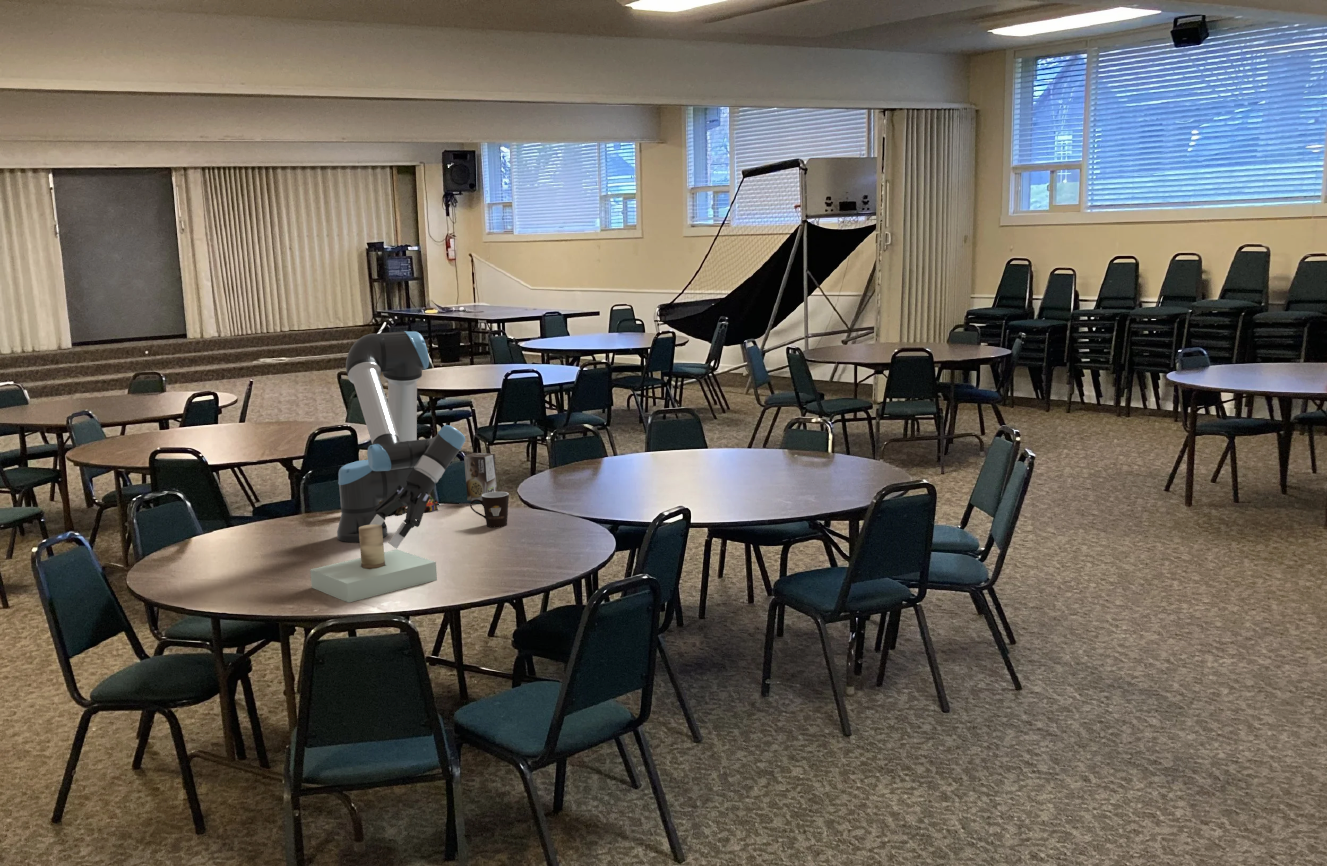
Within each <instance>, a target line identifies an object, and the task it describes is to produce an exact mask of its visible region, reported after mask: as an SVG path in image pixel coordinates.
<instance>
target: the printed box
mask: <svg viewBox="0 0 1327 866" xmlns="http://www.w3.org/2000/svg"><path fill="white" fill-rule="evenodd" d="M495 456H496V455H495V453H491V452H490V453H486V452H485V453H484V452H483V453H482V452H472V453H469V454H467V455H464V456H463V459H464V460H463V462H464V472H465V474H464V476H465V485H466V497H467V499H466V500H467V501H471V502H472V501H473V500H475V499H478V500H481V501H482V496H481V495H482V494H485V493H489V492H498V487H497V472H496V471H497V469H496V457H495Z"/></svg>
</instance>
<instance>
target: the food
mask: <svg viewBox="0 0 1327 866" xmlns="http://www.w3.org/2000/svg"><path fill="white" fill-rule="evenodd" d="M381 502H382V501H380V502H379V504H380V503H381ZM438 506H440V503H439V502H438V500H436V499H434V498H433V497H432V496H430V499H429V501H428V503H427V505H426V508H425V511H424V513H429V512H438V511H439V509H438ZM406 513H407V506H403V507H399V508H398V509H396V510H395V511H394V512H392V513H391V514H389V515H388V516H387V517H392V516H396V517H397V516H399V517H400V516H403V515H404V514H406Z"/></svg>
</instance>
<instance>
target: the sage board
mask: <svg viewBox="0 0 1327 866" xmlns="http://www.w3.org/2000/svg"><path fill="white" fill-rule="evenodd" d="M384 559H385V566H383V567H380V568H374V569H365V568H362V566H361V557H358V558H353V559H349V560H345V561H341V562H337V563H331V564H327V565H323V566H319V567H314V568H311V569H309V572H310V585H311V589H314V590H316V591H319V592H321V593H324V594H326V595H329V596H332V597H333V598H336V599H339V600H341V601H343V602H346V603H353V602H356V601H360V600H365V599H369V598H371V597H376V596H379V595H380V596H381V595H383V594H384V595H385V594H388V593H391V592H396V591H399V590H403V589H407V588H412V587H414V586H419V585H423V584H426V583H427V584H428V583H431V582H434V581H437V580H438V575H437V573H438V572H437V561H434V560H431V559H428V558H425V557H421V556H419V555H416V554H412V553H410V552H407V551H404V550H401V549H394V550H393V549H392V550H390V551H389V550H387V551H384Z"/></svg>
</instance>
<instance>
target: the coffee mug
mask: <svg viewBox="0 0 1327 866" xmlns="http://www.w3.org/2000/svg"><path fill="white" fill-rule="evenodd" d="M481 496H482V501H481V500H478V499H475V500H473V501H471V502H470V505H469V507H470V509H471V510H472V511H473V512H474V513H475V514H477V515H478V516H481V518H482V517H483V518H484V519H485V523H486V526H487V528H491V529H493V528H495V529H496V528H502V527H503V528H504V527H506V526H508V516H509V515H508V514H509V497H510V493H509V492H507V491H497V492H489V493H485V494H482V495H481ZM475 502H479V503H480V504H481V506H482V507H483V512H484V514H482V513H480V512H478V511H477V510H476V509H474V507H473V506H472V505H473V503H475Z"/></svg>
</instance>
